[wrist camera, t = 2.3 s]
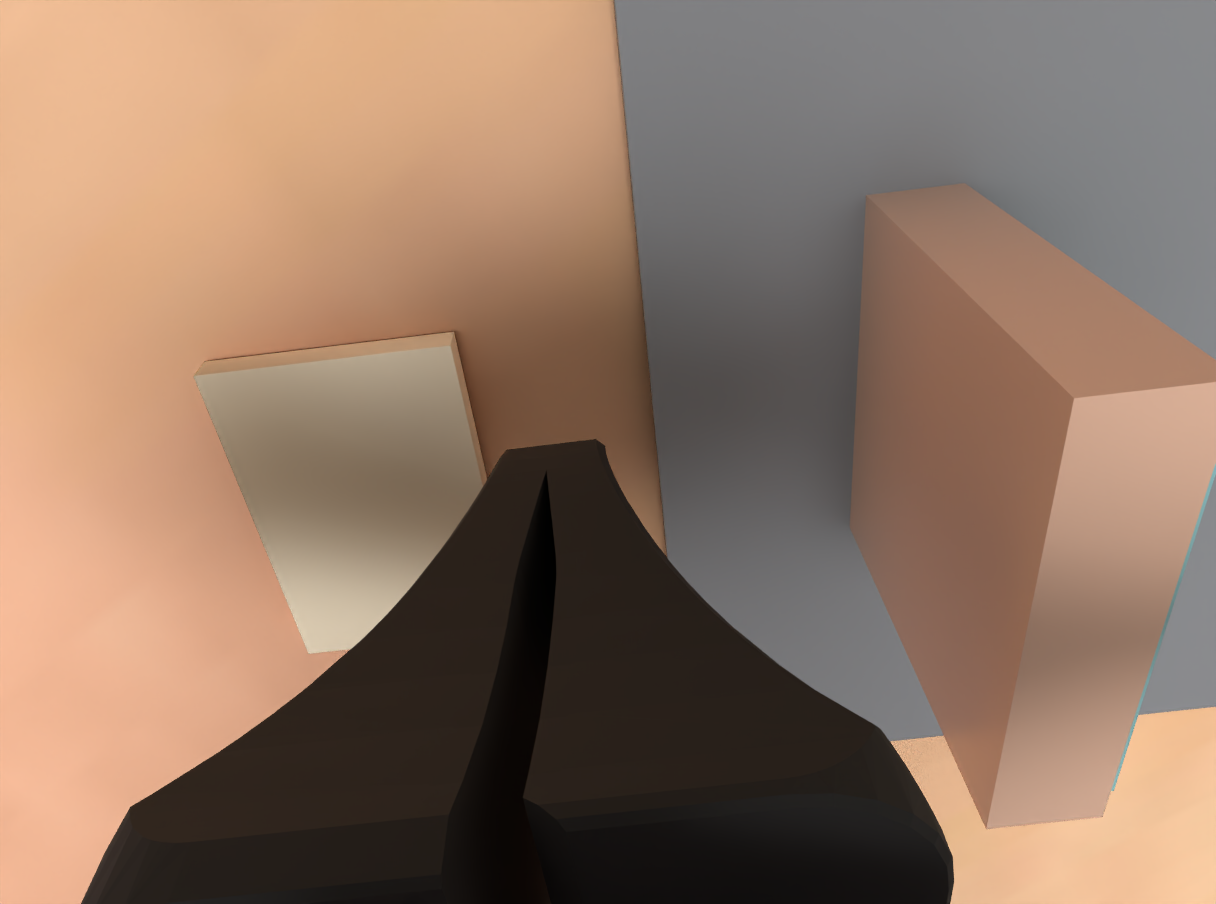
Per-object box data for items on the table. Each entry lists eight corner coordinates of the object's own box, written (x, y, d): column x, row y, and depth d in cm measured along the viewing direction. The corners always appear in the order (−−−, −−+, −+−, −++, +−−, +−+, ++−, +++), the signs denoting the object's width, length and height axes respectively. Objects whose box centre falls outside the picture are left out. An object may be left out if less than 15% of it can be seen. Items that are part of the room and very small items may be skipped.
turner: (566, 829, 21) (566, 869, 20) (400, 846, 21) (393, 886, 20) (453, 331, 14) (447, 360, 13) (204, 361, 14) (180, 391, 13)
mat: (1419, 669, 19) (1434, 683, 18) (685, 747, 19) (687, 762, 19) (2085, -529, 9) (2144, -545, 9) (582, -321, 10) (583, -329, 9)
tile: (939, 517, 16) (1118, 814, 10) (849, 527, 16) (986, 829, 11) (979, 180, 12) (1266, 375, 7) (866, 195, 12) (1073, 398, 7)
